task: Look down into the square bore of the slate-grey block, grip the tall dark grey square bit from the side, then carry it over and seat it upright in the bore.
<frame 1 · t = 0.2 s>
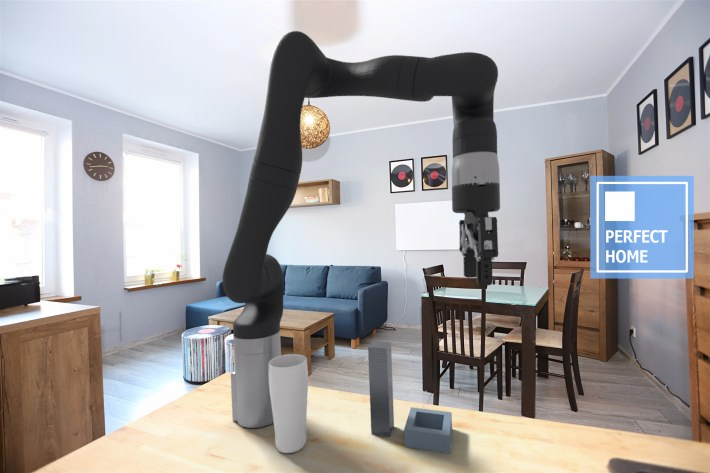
hand: (477, 280, 57), 28 cm above the table, tool pointing down, fingers open, 8 cm apart
socket block: (429, 437, 60), on the table
square bit: (382, 430, 63), on the table
drinking glass: (291, 446, 59), on the table
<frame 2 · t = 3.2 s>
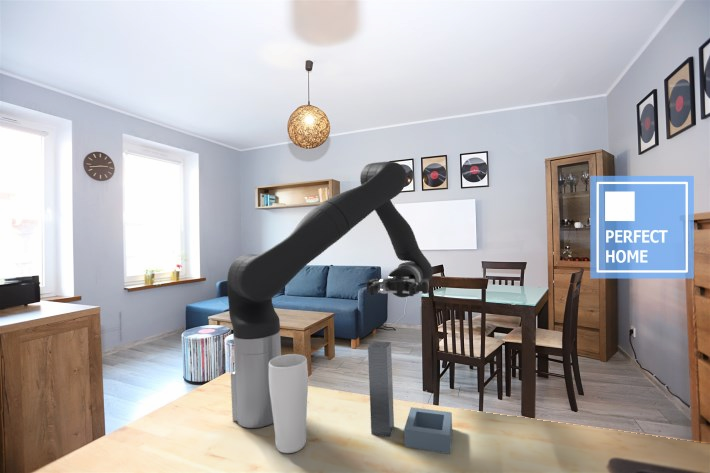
hand: (391, 291, 73), 24 cm above the table, tool horizontal, fingers open, 8 cm apart
nothing on the table moved.
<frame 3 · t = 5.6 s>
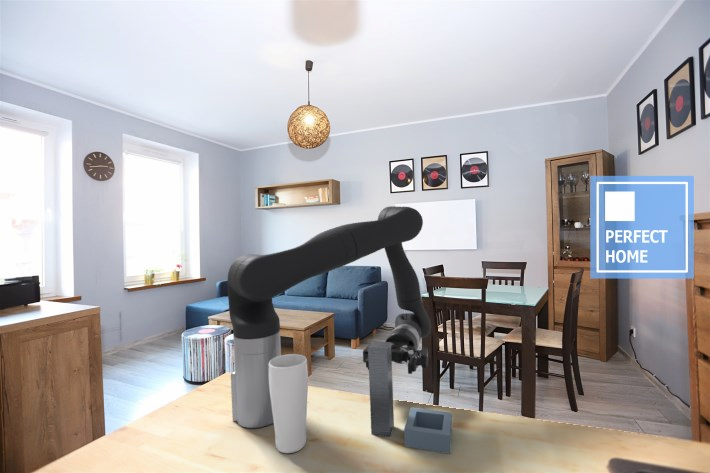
hand: (389, 367, 70), 9 cm above the table, tool horizontal, fingers open, 8 cm apart
nothing on the table moved.
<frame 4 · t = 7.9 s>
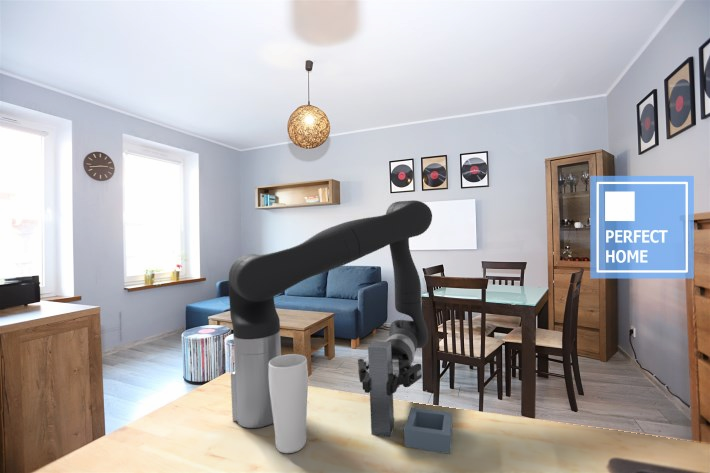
hand: (377, 388, 60), 9 cm above the table, tool horizontal, fingers closed on square bit, 3 cm apart
square bit: (382, 430, 63), on the table, touching gripper
everything else where it was.
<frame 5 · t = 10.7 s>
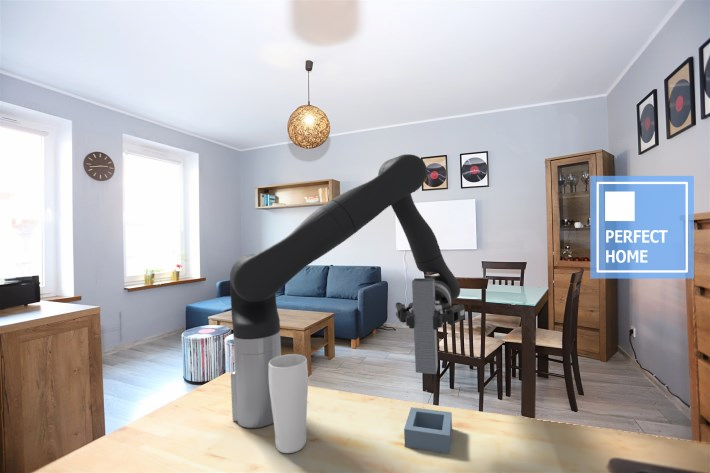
hand: (423, 323, 57), 21 cm above the table, tool horizontal, fingers closed on square bit, 3 cm apart
square bit: (426, 369, 60), point 12 cm above the table, touching gripper
everything else where it was.
when the fingers open (10 cm above the table, at t = 13.4 s): square bit stays where it is, resting in socket block.
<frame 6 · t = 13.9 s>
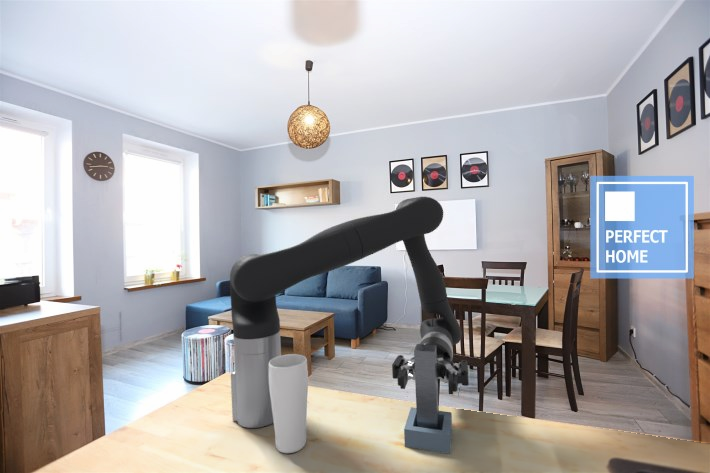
hand: (425, 386, 58), 10 cm above the table, tool horizontal, fingers open, 8 cm apart
square bit: (428, 436, 60), resting in socket block
everything else where it was.
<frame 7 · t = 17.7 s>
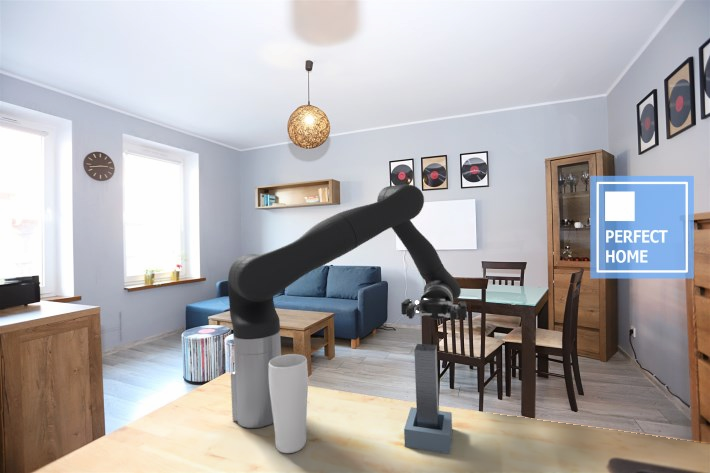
hand: (430, 315, 71), 19 cm above the table, tool horizontal, fingers open, 8 cm apart
nothing on the table moved.
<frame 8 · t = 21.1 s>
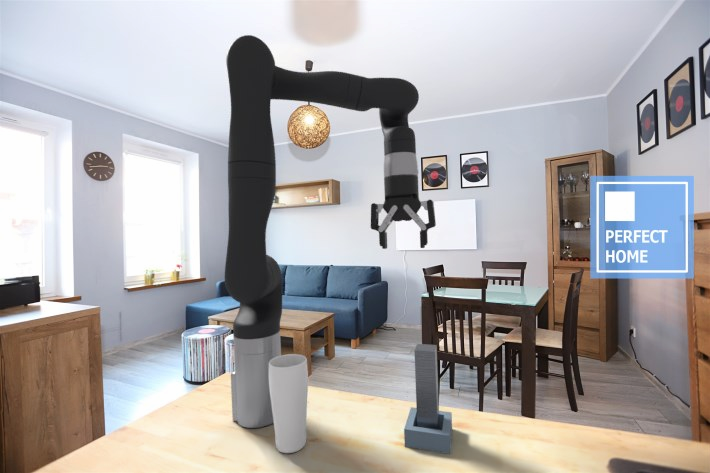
hand: (403, 248, 76), 33 cm above the table, tool pointing down, fingers open, 8 cm apart
nothing on the table moved.
at the end: square bit 0.1 cm off-centre on the socket block, point 0.0 cm above the socket block's base; square bit tilted 0°; the gripper is holding nothing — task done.
